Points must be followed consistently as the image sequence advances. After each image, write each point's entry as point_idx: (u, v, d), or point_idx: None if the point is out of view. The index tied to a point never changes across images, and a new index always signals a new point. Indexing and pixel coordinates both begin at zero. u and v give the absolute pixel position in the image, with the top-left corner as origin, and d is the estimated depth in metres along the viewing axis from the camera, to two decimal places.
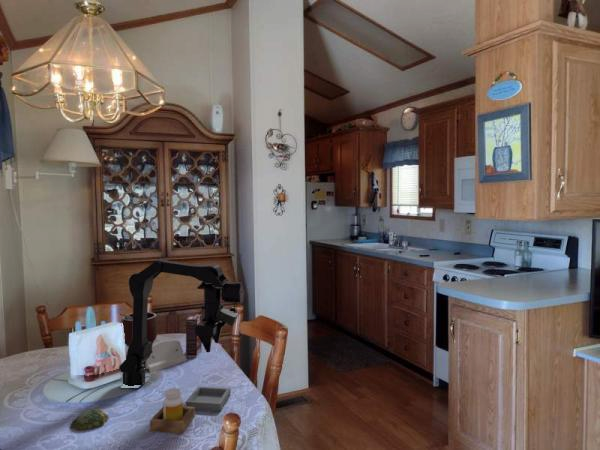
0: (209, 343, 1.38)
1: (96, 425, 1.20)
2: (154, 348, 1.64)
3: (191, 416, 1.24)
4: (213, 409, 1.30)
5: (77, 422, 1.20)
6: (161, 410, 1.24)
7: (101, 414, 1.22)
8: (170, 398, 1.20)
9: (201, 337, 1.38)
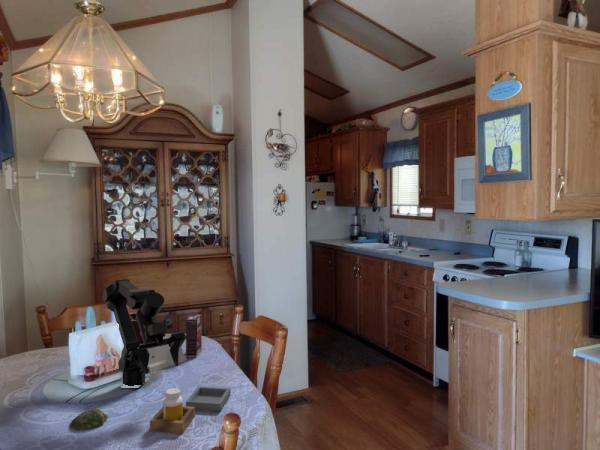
0: (141, 362, 1.25)
1: (95, 425, 1.20)
2: (154, 348, 1.64)
3: (191, 416, 1.24)
4: (213, 409, 1.30)
5: (76, 422, 1.20)
6: (161, 410, 1.24)
7: (100, 414, 1.22)
8: (170, 398, 1.20)
9: (135, 360, 1.28)
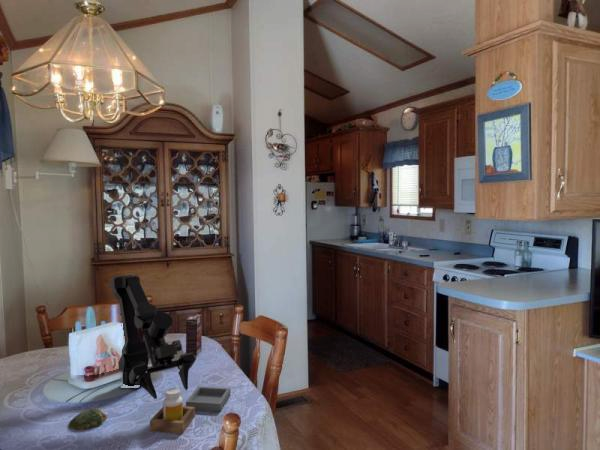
0: (149, 387, 1.20)
1: (94, 425, 1.20)
2: None
3: (191, 416, 1.24)
4: (213, 409, 1.30)
5: (75, 421, 1.20)
6: (161, 410, 1.24)
7: (99, 414, 1.22)
8: (170, 398, 1.20)
9: (143, 385, 1.22)
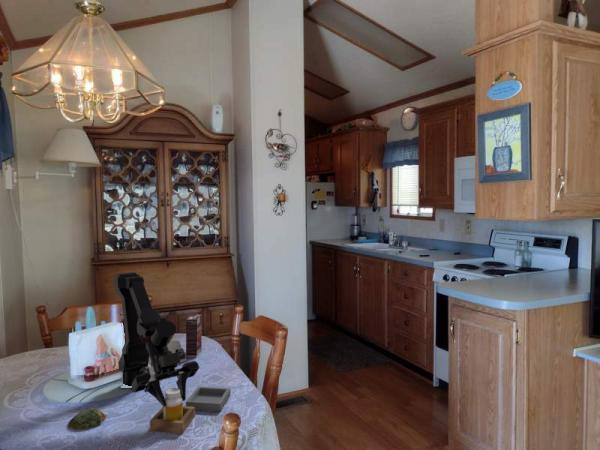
0: (158, 395, 1.20)
1: (93, 424, 1.20)
2: None
3: (191, 416, 1.24)
4: (213, 409, 1.30)
5: (74, 421, 1.21)
6: (161, 410, 1.24)
7: (98, 413, 1.22)
8: (170, 398, 1.20)
9: (152, 392, 1.22)
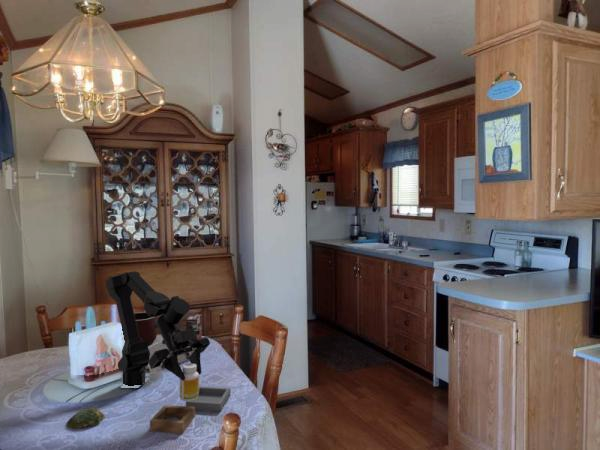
0: (177, 369, 1.24)
1: (91, 424, 1.21)
2: (154, 348, 1.64)
3: (191, 416, 1.24)
4: (213, 409, 1.30)
5: (73, 420, 1.21)
6: (161, 410, 1.24)
7: (97, 413, 1.22)
8: (188, 372, 1.25)
9: (169, 368, 1.25)
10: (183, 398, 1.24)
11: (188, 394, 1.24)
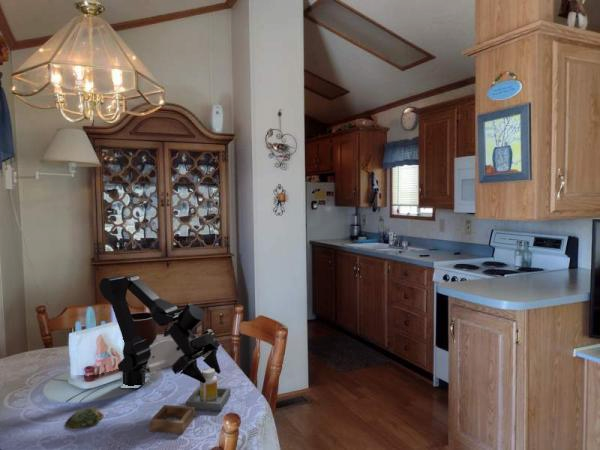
0: (198, 373, 1.30)
1: (90, 423, 1.21)
2: (154, 348, 1.64)
3: (191, 416, 1.24)
4: (213, 409, 1.30)
5: (71, 420, 1.21)
6: (161, 410, 1.24)
7: (95, 413, 1.23)
8: (209, 376, 1.34)
9: (188, 373, 1.31)
10: None
11: (210, 396, 1.33)
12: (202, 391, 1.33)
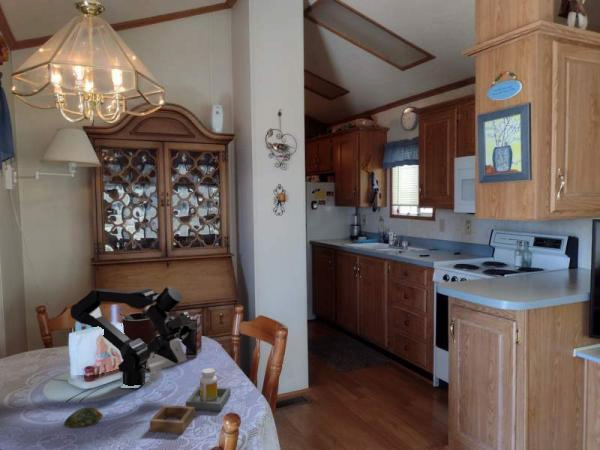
0: (170, 354, 1.35)
1: (89, 423, 1.21)
2: None
3: (191, 416, 1.24)
4: (213, 409, 1.30)
5: (71, 419, 1.21)
6: (161, 410, 1.24)
7: (94, 412, 1.23)
8: (209, 376, 1.34)
9: (161, 353, 1.36)
10: None
11: (210, 397, 1.33)
12: (202, 391, 1.33)
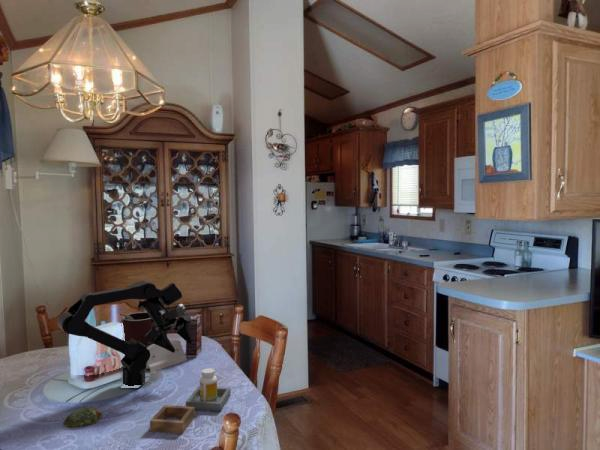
0: (167, 343, 1.42)
1: (88, 423, 1.21)
2: (154, 348, 1.64)
3: (191, 416, 1.24)
4: (213, 409, 1.30)
5: (69, 419, 1.22)
6: (161, 410, 1.24)
7: (93, 412, 1.23)
8: (209, 376, 1.34)
9: (158, 343, 1.43)
10: None
11: (210, 397, 1.33)
12: (202, 391, 1.33)
